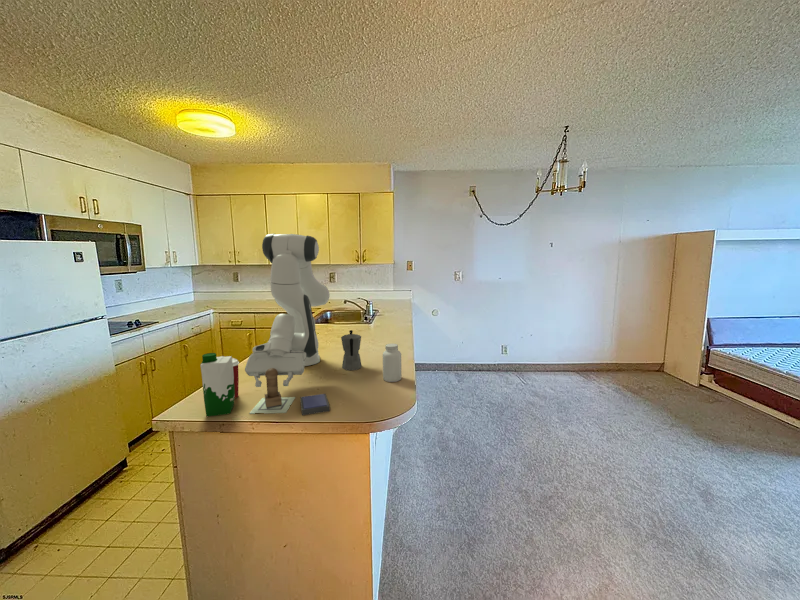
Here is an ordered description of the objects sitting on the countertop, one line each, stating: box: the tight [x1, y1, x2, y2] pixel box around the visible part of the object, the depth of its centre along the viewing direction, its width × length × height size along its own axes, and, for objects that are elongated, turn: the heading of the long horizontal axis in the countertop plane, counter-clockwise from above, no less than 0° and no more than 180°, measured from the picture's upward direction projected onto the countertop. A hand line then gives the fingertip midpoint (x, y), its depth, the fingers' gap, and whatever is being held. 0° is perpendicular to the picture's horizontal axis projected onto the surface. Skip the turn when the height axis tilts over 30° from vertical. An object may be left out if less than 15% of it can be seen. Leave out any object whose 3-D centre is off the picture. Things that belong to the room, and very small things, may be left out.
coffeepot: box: [340, 329, 362, 371], centre depth 154 cm, size 15×9×18 cm, turn 9°
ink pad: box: [299, 393, 331, 416], centre depth 115 cm, size 11×9×2 cm
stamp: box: [264, 368, 282, 409], centre depth 115 cm, size 5×5×13 cm
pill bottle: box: [382, 343, 402, 383], centre depth 140 cm, size 8×8×15 cm
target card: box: [249, 396, 296, 415], centre depth 116 cm, size 12×12×1 cm
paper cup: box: [232, 357, 240, 399], centre depth 122 cm, size 8×8×14 cm
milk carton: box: [200, 352, 236, 417], centre depth 111 cm, size 9×9×20 cm
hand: (271, 386), depth 115 cm, fingers open, 8 cm apart
